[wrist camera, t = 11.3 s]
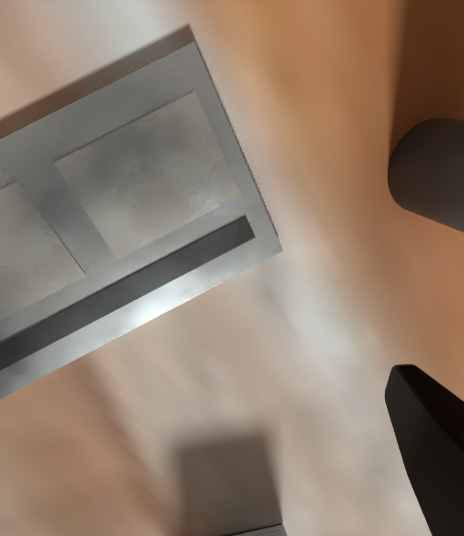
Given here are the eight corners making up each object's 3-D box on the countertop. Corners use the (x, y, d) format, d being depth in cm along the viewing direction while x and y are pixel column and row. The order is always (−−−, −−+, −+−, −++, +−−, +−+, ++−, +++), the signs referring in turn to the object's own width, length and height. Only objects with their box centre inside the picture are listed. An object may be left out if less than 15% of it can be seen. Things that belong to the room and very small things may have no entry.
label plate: (0, 392, 20) (-4, 402, 19) (-169, 225, 15) (-182, 230, 15) (279, 246, 20) (283, 251, 20) (192, 43, 16) (194, 40, 15)
